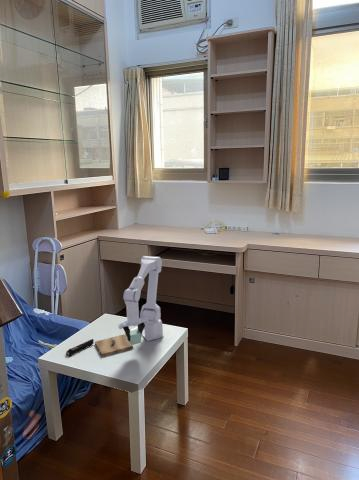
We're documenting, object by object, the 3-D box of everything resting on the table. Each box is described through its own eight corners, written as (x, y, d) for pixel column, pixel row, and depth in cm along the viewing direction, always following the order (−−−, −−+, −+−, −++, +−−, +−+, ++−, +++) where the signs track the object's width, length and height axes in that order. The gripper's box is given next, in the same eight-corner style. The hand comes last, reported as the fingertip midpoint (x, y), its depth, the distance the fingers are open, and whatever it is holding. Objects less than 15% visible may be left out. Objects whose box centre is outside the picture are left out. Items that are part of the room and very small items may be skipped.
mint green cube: (137, 338, 176) (137, 329, 175) (141, 342, 171) (140, 333, 170) (128, 340, 174) (127, 331, 173) (131, 345, 169) (130, 335, 168)
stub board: (124, 336, 192) (123, 330, 191) (133, 348, 180) (132, 341, 179) (95, 344, 185) (94, 337, 184) (102, 356, 173) (101, 349, 172)
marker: (147, 327, 205) (126, 337, 193) (145, 324, 206) (124, 334, 194) (148, 323, 204) (128, 334, 192) (146, 321, 205) (125, 331, 193)
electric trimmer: (95, 345, 185) (95, 339, 184) (69, 357, 173) (69, 351, 173) (91, 343, 187) (90, 337, 187) (65, 355, 176) (64, 349, 175)
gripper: (120, 319, 163) (122, 346, 166) (150, 312, 169) (151, 338, 172) (116, 313, 169) (118, 339, 172) (144, 307, 175) (145, 332, 178)
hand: (134, 338), depth 172 cm, fingers closed on mint green cube, 5 cm apart
